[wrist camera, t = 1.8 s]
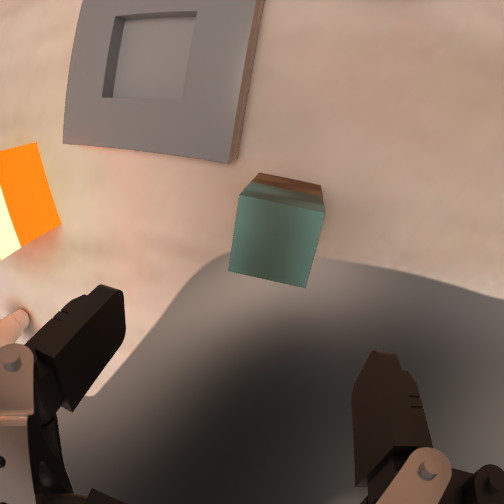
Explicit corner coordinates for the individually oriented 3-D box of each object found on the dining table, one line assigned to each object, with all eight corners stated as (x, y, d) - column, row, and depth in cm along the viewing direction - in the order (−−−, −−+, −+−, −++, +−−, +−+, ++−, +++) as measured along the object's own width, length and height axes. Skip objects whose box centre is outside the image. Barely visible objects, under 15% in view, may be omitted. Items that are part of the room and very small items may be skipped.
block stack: (320, 185, 23) (325, 213, 16) (307, 242, 25) (305, 288, 18) (259, 172, 23) (239, 194, 17) (249, 229, 25) (228, 270, 19)
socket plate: (268, -18, 17) (262, -32, 15) (237, 158, 23) (228, 163, 20) (105, -10, 18) (87, -18, 16) (82, 139, 24) (62, 143, 22)
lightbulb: (12, 285, 33) (-44, 330, 23) (44, 313, 34) (-11, 365, 24) (11, 314, 36) (-37, 358, 26) (40, 340, 36) (-6, 390, 26)
